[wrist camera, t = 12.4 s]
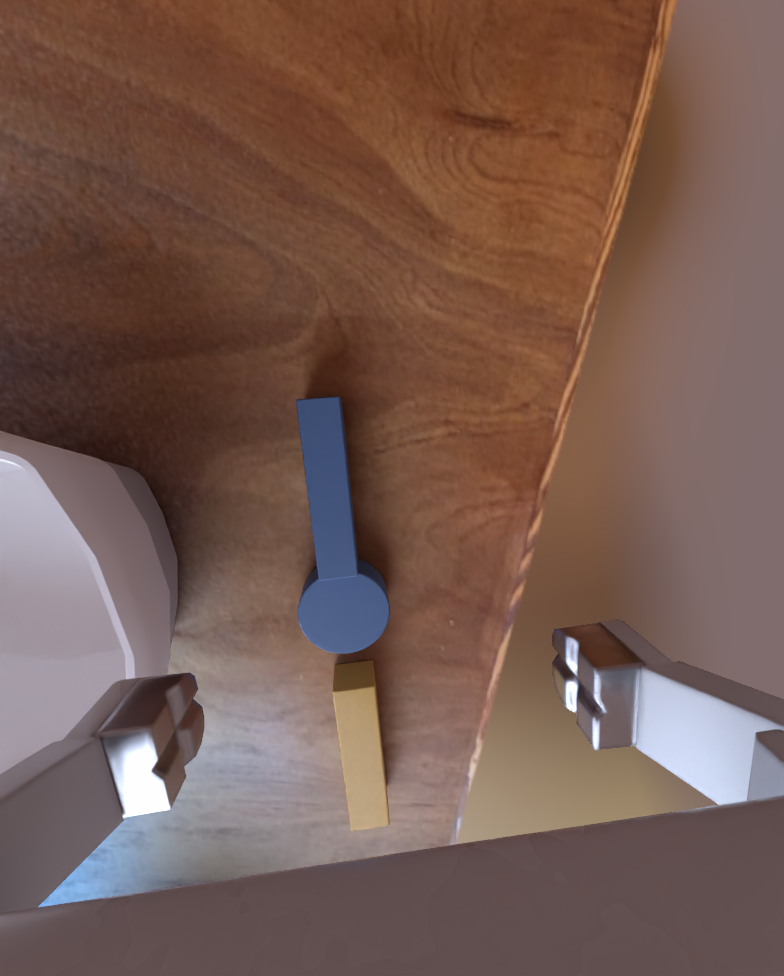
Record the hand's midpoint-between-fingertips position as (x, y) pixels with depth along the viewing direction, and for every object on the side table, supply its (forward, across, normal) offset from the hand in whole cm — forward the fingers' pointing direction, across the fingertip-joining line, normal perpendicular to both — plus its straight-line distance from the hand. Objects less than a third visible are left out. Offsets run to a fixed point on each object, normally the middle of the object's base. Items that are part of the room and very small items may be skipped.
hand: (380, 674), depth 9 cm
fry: (+14, +2, +15) cm, 20 cm away
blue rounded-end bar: (+14, +2, +1) cm, 14 cm away
